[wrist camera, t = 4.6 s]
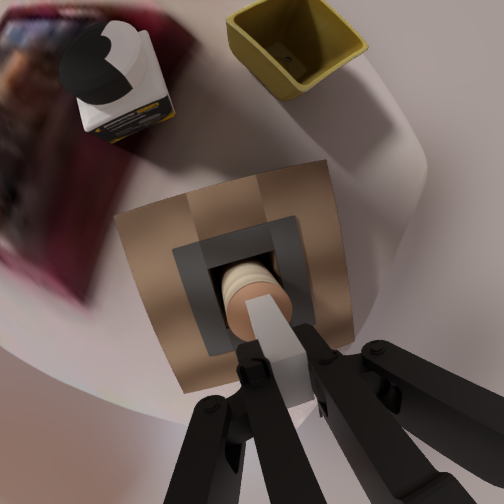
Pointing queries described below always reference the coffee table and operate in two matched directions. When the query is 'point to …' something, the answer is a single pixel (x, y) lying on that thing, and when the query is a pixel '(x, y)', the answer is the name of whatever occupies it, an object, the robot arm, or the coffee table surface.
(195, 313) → the socket block
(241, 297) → the peg
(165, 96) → the medicine bottle
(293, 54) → the flower pot
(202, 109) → the coffee table surface
